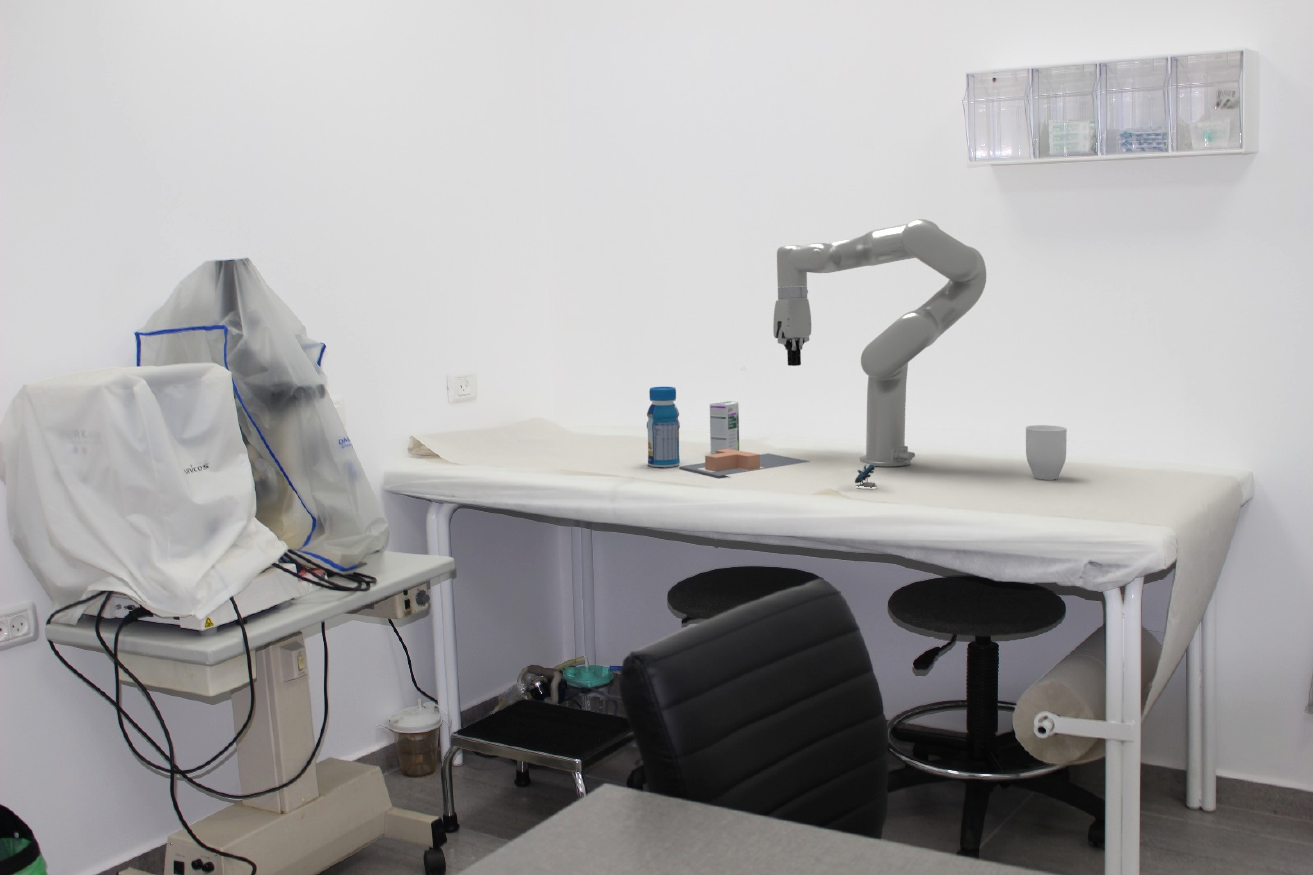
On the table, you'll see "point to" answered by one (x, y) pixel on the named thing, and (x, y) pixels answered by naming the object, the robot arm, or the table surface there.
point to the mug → (1046, 450)
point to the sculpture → (865, 476)
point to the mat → (765, 462)
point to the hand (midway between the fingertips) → (794, 365)
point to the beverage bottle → (663, 428)
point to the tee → (732, 460)
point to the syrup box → (724, 426)
